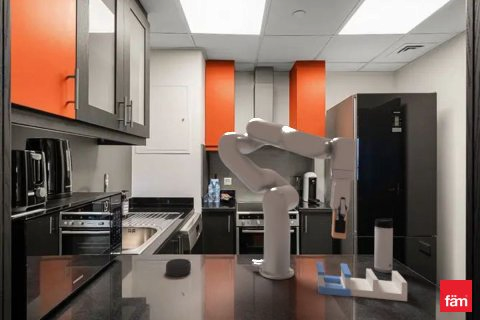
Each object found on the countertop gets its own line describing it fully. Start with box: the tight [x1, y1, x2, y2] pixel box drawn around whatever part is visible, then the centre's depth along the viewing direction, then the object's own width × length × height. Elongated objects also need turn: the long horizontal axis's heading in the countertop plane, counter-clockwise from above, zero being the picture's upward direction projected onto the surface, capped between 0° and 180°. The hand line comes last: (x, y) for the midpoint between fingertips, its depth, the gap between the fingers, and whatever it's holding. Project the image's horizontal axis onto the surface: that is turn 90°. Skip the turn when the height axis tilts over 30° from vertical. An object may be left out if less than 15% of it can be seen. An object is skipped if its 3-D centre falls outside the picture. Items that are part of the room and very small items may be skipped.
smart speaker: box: [165, 258, 192, 277], centre depth 109 cm, size 9×9×4 cm
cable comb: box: [316, 260, 408, 302], centre depth 96 cm, size 26×11×6 cm, turn 78°
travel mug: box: [373, 217, 395, 274], centre depth 115 cm, size 6×7×20 cm
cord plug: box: [331, 209, 349, 240], centre depth 98 cm, size 4×4×11 cm
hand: (338, 230), depth 98 cm, fingers closed on cord plug, 4 cm apart
